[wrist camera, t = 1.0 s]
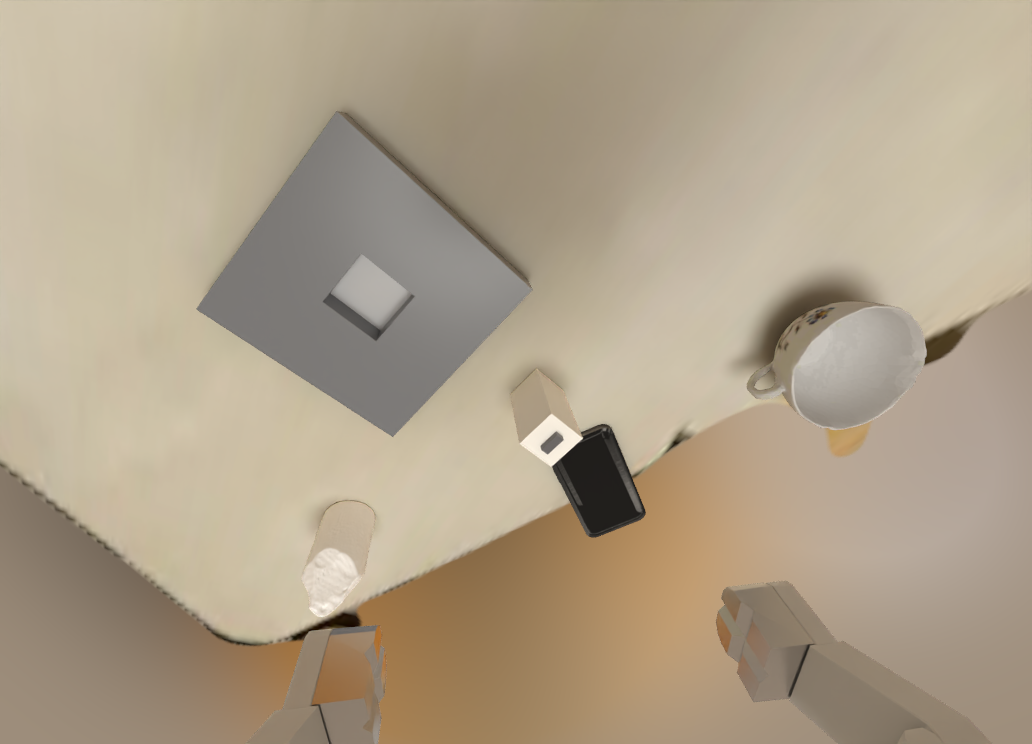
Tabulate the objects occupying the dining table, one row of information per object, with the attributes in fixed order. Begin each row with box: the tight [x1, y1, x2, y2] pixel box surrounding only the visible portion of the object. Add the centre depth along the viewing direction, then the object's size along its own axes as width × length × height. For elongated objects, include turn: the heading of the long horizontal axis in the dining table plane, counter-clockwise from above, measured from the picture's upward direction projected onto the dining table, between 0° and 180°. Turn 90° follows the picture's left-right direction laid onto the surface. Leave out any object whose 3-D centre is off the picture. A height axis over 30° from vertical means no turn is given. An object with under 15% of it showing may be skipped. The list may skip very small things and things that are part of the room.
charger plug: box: [510, 368, 583, 467], centre depth 45 cm, size 4×4×10 cm
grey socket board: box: [197, 111, 532, 437], centre depth 42 cm, size 20×20×3 cm
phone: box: [552, 424, 646, 537], centre depth 56 cm, size 8×1×15 cm
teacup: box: [747, 301, 927, 430], centre depth 47 cm, size 15×12×8 cm
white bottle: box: [301, 501, 375, 617], centre depth 49 cm, size 6×12×6 cm
